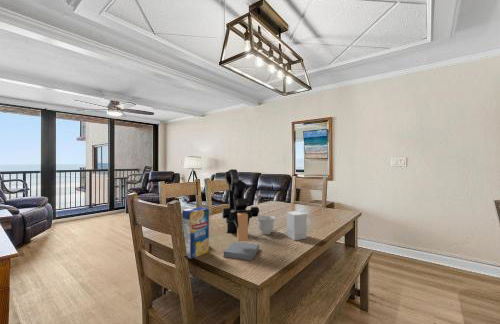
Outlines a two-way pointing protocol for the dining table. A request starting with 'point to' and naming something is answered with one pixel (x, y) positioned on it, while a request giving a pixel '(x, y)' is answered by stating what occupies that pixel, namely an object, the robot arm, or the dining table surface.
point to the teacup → (266, 223)
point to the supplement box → (296, 225)
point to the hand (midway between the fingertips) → (242, 227)
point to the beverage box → (196, 231)
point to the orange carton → (242, 227)
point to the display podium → (241, 250)
